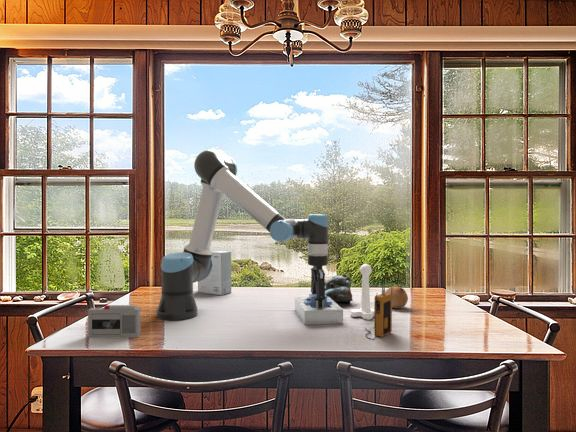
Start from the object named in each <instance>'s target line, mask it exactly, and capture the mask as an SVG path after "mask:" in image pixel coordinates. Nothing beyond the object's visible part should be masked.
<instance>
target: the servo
mask: <svg viewBox="0 0 576 432" xmlns="http://www.w3.org/2000/svg"><path fill="white" fill-rule="evenodd" d="M308 297H309V298H307V300H304V303H305V304H306V305H310V306H311V308H316V301H315V299H317V295H316V294H312V293H309V294H308ZM327 304H332V301H331V300H329V299H327V296H326V295H325V300H323V308H327Z"/></svg>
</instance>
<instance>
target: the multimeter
mask: <svg viewBox="0 0 576 432" xmlns="http://www.w3.org/2000/svg"><path fill="white" fill-rule="evenodd" d="M388 275H390V277H391V280H390V281H391V282H393V276H392V274H391V272H390V273H389V272H388V273H387V274H386V275H385V274H380V275H379V276H378V277H377V279H376V283H378V281H379V278H380V277H382V283H381V284H382V286H381V293H380V294H375V296H374V304H373V305H374V308H373V309H374V316H373V318H374V324H373V327H372V329H374V330H373V331H374V333H373V334H374V338H370V337H368V335H369V334H372V332H371V331H370V329H369V328H367V327H364V329H365V330H366V331H367V332H368V333H366V334H365V338H367V339H369V340H371V339H372V341H374V340H376V339H377V338H376V337H381V338H384V337H385V336H386V335H389V334H391V333H392V328H393V327H392V326H393V324H392V323H393V321H392V319H393V308H392V288H391V294H389V293H385V292H386V288H385V287H386V286H385V284H386V283H385V280H386V278H387V276H388Z"/></svg>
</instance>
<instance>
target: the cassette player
mask: <svg viewBox="0 0 576 432" xmlns="http://www.w3.org/2000/svg"><path fill="white" fill-rule="evenodd" d="M141 319H142V318H141V307H137V305H136V304H113V305H111V304H109V305H107V304H106V305H104V306H103V307H91V308H89V309H87V322H88V323H87V324H88V325H87V329H88V330H87V332H88V335H87V338H93V339H94V338H95V339H96V338H99V339H100V338H105V339H107V338H139V337H140V336H141V334H142V333H141V330H142V329H141V328H142V327H141Z"/></svg>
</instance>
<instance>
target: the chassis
mask: <svg viewBox="0 0 576 432" xmlns="http://www.w3.org/2000/svg"><path fill="white" fill-rule="evenodd" d="M307 298H309V296H302V297H301V296H298V297H294V310H295V312H296V313H297V315H298V317H299V318H300V320H301V322H302V323H303V324H304V325H305V326H306V325H307V326H309V325H329V324H330V325H334V324H335V325H336V324H337V325H338V324H344V308H342V307H341V306H340V305H339V304H338V302H334V301H333V300H332V299H331V298H330V297H329V296H327V299H329V300H331V301H332V304H327V308H311V306H310V305H306V304H305V303H304V300H307Z"/></svg>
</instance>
